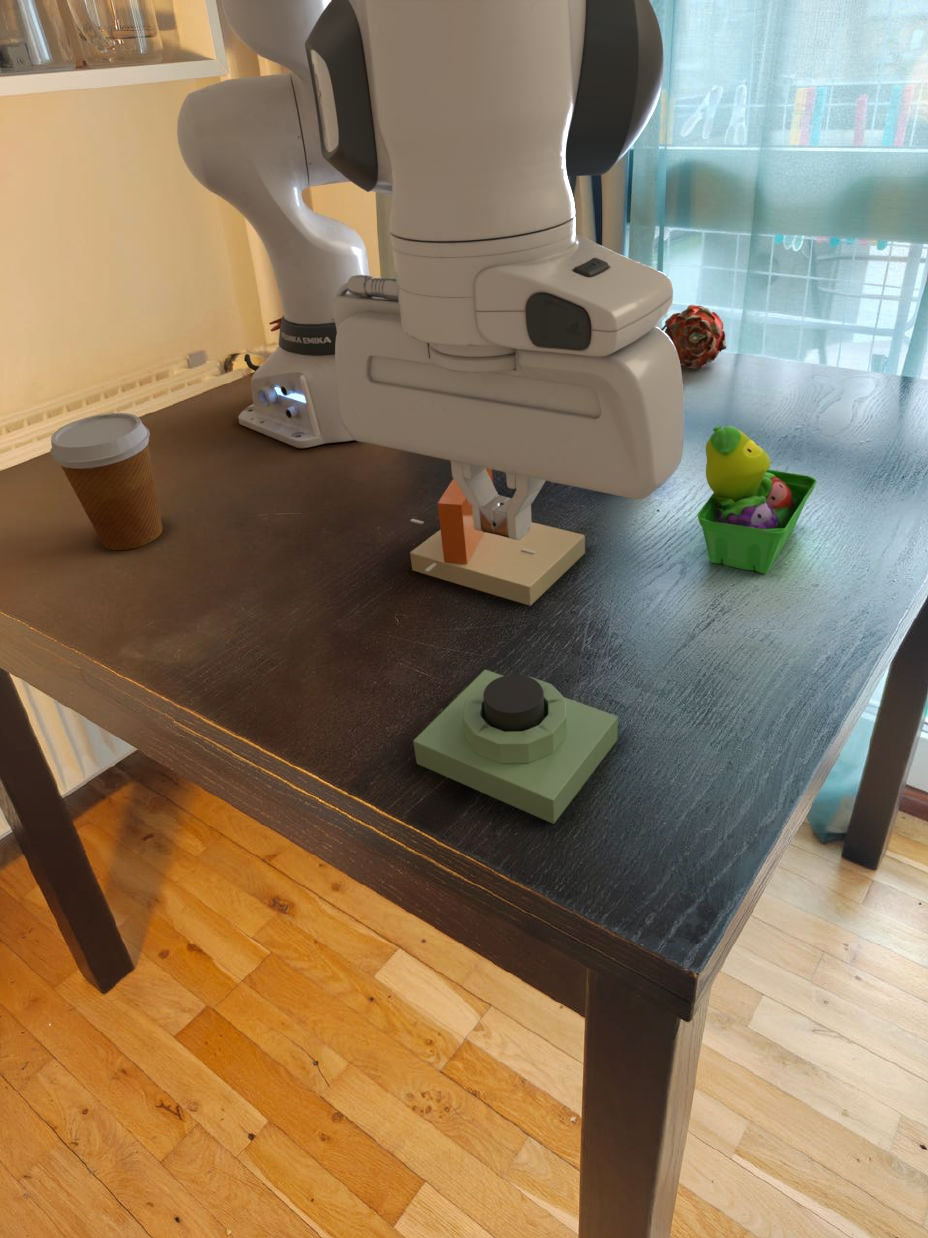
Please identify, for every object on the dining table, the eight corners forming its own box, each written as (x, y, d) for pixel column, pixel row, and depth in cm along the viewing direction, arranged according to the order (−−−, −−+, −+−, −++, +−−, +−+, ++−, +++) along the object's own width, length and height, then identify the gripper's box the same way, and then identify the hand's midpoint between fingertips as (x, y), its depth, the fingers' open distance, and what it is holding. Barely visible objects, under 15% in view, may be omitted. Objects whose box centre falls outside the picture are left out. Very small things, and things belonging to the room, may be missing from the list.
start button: (473, 720, 59) (471, 700, 58) (505, 687, 61) (504, 667, 60) (524, 740, 57) (523, 720, 56) (555, 705, 59) (554, 685, 58)
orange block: (467, 564, 78) (461, 501, 75) (444, 562, 79) (437, 500, 75) (495, 511, 86) (490, 453, 83) (473, 510, 87) (468, 452, 83)
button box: (416, 764, 61) (409, 720, 59) (486, 691, 67) (483, 649, 64) (553, 824, 55) (552, 779, 53) (617, 739, 61) (618, 695, 59)
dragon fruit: (705, 391, 117) (667, 376, 128) (754, 344, 116) (712, 333, 126) (669, 344, 113) (634, 332, 124) (719, 295, 112) (679, 288, 123)
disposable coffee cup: (93, 568, 88) (51, 458, 81) (80, 530, 95) (41, 426, 88) (186, 540, 91) (154, 432, 84) (168, 506, 98) (136, 403, 91)
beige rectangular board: (368, 572, 83) (365, 552, 82) (454, 508, 92) (452, 489, 91) (517, 618, 74) (516, 597, 73) (595, 543, 84) (595, 523, 82)
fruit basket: (776, 585, 75) (793, 464, 69) (677, 563, 79) (685, 447, 73) (811, 526, 83) (829, 412, 76) (719, 509, 87) (729, 400, 81)
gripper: (290, 287, 46) (334, 518, 54) (647, 321, 36) (638, 601, 44) (366, 258, 50) (397, 477, 58) (706, 282, 40) (688, 544, 48)
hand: (503, 531), depth 51 cm, fingers closed
